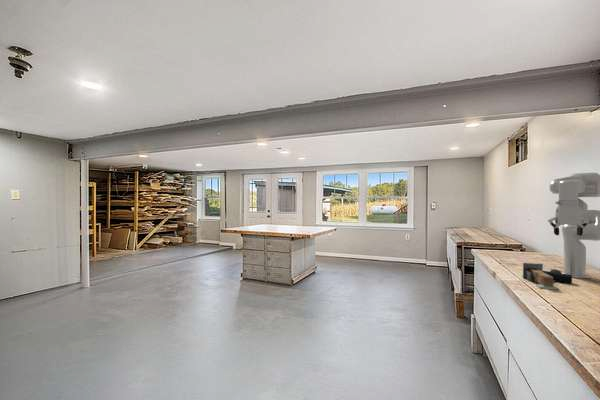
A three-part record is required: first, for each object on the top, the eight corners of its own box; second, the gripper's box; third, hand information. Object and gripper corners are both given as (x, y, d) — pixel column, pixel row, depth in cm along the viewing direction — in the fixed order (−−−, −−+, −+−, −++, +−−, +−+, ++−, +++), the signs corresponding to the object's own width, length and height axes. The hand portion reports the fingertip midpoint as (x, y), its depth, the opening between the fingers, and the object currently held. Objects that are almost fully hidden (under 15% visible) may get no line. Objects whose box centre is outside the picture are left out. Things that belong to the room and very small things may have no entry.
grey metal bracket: (522, 278, 165) (522, 262, 165) (541, 279, 163) (541, 263, 162) (528, 281, 158) (528, 265, 158) (548, 283, 156) (548, 266, 156)
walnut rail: (529, 277, 163) (529, 269, 162) (538, 278, 161) (538, 269, 161) (543, 286, 147) (544, 276, 147) (553, 286, 146) (553, 277, 146)
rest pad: (536, 286, 151) (536, 284, 151) (554, 287, 148) (554, 285, 148) (540, 288, 147) (540, 286, 147) (559, 289, 144) (559, 287, 144)
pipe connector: (539, 266, 172) (573, 271, 160) (539, 275, 172) (573, 280, 160) (535, 270, 165) (570, 275, 153) (535, 279, 165) (570, 285, 153)
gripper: (551, 204, 151) (551, 236, 152) (593, 203, 145) (593, 236, 146) (544, 203, 158) (545, 233, 159) (584, 202, 152) (584, 234, 153)
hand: (568, 235), depth 153 cm, fingers open, 9 cm apart
